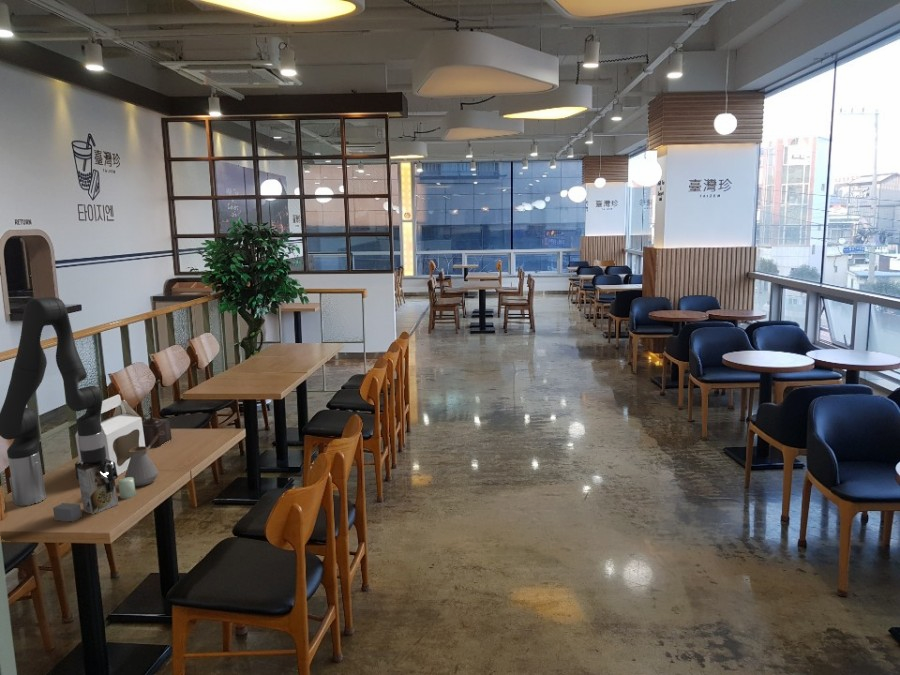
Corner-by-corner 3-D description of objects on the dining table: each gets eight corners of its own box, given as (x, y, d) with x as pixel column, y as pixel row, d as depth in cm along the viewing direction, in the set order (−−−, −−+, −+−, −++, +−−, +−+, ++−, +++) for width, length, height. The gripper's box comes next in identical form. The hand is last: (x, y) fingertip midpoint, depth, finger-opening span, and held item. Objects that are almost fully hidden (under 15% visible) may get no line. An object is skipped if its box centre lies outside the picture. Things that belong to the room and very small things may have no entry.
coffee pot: (147, 488, 248) (141, 449, 245) (118, 488, 250) (113, 448, 247) (180, 466, 269) (175, 430, 266) (153, 466, 271) (148, 429, 268)
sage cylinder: (117, 498, 241) (114, 482, 240) (126, 492, 245) (124, 476, 244) (129, 499, 240) (127, 483, 238) (138, 493, 244) (136, 477, 243)
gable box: (118, 457, 283) (109, 391, 278) (147, 458, 280) (138, 391, 275) (81, 478, 261) (70, 407, 256) (112, 479, 259) (101, 408, 254)
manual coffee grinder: (150, 438, 305) (145, 399, 302) (172, 439, 303) (167, 400, 299) (127, 451, 290) (121, 410, 287) (150, 451, 288) (145, 410, 284)
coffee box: (109, 500, 239) (102, 456, 236) (119, 504, 235) (112, 460, 232) (82, 510, 232) (75, 465, 229) (92, 515, 228) (85, 469, 225)
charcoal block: (55, 520, 225) (53, 508, 224) (64, 515, 229) (62, 502, 228) (72, 522, 223) (70, 509, 222) (82, 517, 227) (80, 504, 226)
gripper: (65, 449, 227) (73, 495, 230) (102, 450, 224) (109, 497, 227) (81, 441, 235) (89, 486, 238) (118, 442, 232) (124, 487, 235)
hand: (99, 491), depth 232 cm, fingers open, 8 cm apart
